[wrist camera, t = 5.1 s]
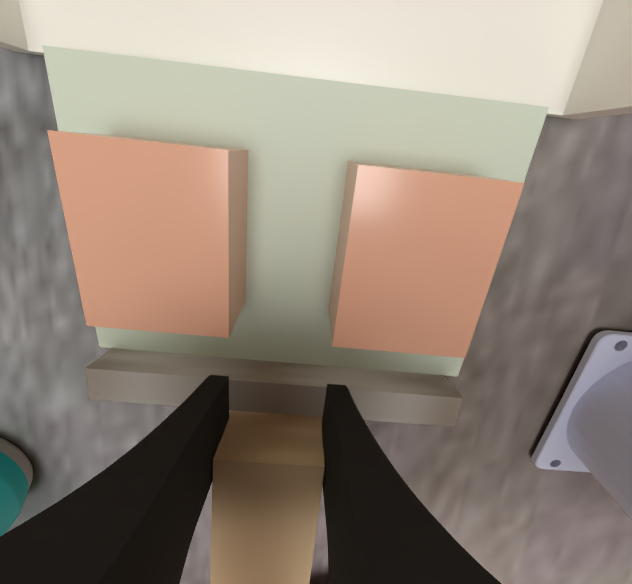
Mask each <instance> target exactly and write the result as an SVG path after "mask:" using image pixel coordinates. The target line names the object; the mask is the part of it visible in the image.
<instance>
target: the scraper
mask: <svg viewBox="0 0 632 584" xmlns="http://www.w3.org/2000/svg"><path fill="white" fill-rule="evenodd" d="M209 375H220V376H229V410H231V413H230V415H229V420H228V422H227V425H226V428H225V430H224V433H223V436H222V438H221V440H220V442H219V445H218V448H217V450H216V453H215V456H214V458H213V481H212V526H211V571H210V584H309V583H310V575H311V568H312V560H313V552H314V545H315V537H316V530H317V522H318V514H319V507H320V499H321V491H322V484H323V476H324V469H325V464H324V450H323V442H322V417H323V411H324V403H325V396H326V389H327V384H338V385H346V386H347V387H348V389H349V391H350V394H351V396H352V398H353V400H354V402H355V404H356V406H357V408H358V410H359V412H360V414H361V416H362V418H363V419H364V420H368V421H381V422H395V423H408V424H421V425H435V426H448V427H456V425H457V421H458V417H459V413H460V409H461V405H462V401H463V397H462V396H461V395H460V394H459V392H458V391H457V390H456V388H455V387H454V386H453V385H452V383H451V382H450V381H449V379H448V378H447V377H446V376H444V375H432V374H420V373H408V372H396V371H383V370H371V369H359V368H347V367H335V366H323V365H311V364H298V363H286V362H274V361H262V360H250V359H238V358H226V357H213V356H201V355H189V354H177V353H165V352H153V351H141V350H128V349H116V348H112V349H111V350H110V351H108V352H107V353H106V354H104V355H103V356H101V357H100V358H99V359H97V360H96V361H95V362H93V363H92V364H91V365H89V366H88V367H87V368H86V376H87V387H88V398H89V400H102V401H116V402H129V403H142V404H155V405H169V406H180V405H181V404H182V403H183V402H184V401H185V400H186V399H187V398H188V397H189V396H190V395H191V394H192V393H193V392H194V390H195V389H196V388H197V387H198V386H199V385H200V384H201V383H202V382H203V381H204V380H205V379H206V378H207V377H208V376H209Z"/></svg>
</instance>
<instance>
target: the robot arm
mask: <svg viewBox="0 0 632 584" xmlns="http://www.w3.org/2000/svg"><path fill="white" fill-rule="evenodd" d="M616 343H617V344H616ZM228 420H229V376H220V375H209V376H208V377H207V378H206V379H205V380H204V381H203V382H202V383H201V384H200V385H199V386H198V387H197V388H196V389H195V390H194V392H193V393H192V394H191V395H190V396H189V397H188V398H187V399H186V400H185V401H184V402H183V403H182V404H181V405H180V406H179V407H178V408H177V409H176V410H175V411H174V412H172V413H171V414H170V415H169V416H168V417H167V418H166V419H165V420H164V421H163V422H162V423H161V424H160V425H159V426H158V427H156V428H155V429H154V430H153V431H152V432H151V433H150V434H148V435H147V436H146V437H145V438H144V439H143V440H142V441H140V442H139V443H138V444H137V445H136V446H134V447H133V448H132V449H131V450H130V451H128V452H127V453H126V454H125V455H123V456H122V457H121V458H119V459H118V460H117V461H116V462H114V463H113V464H112V465H110V466H109V467H108V468H106V469H105V470H104V471H102V472H101V473H99V474H98V475H97V476H95V477H94V478H92V479H91V480H89V481H88V482H87V483H85V484H84V485H82V486H81V487H79V488H78V489H76V490H75V491H73V492H72V493H71V494H69V495H68V496H66V497H65V498H63V499H62V500H60V501H59V502H57V503H55V504H54V505H52V506H51V507H49V508H47V509H46V510H44V511H42V512H41V513H39V514H37V515H36V516H34V517H33V518H31V519H29V520H28V521H26V522H24V523H23V524H21V525H19V526H17V527H16V528H14V529H12V530H11V531H9V532H7V533H5V534H4V535H2V536H0V584H179V583H180V579H181V575H182V572H183V568H184V564H185V561H186V557H187V553H188V550H189V546H190V543H191V540H192V536H193V533H194V530H195V527H196V524H197V522H198V519H199V516H200V513H201V511H202V508H203V505H204V502H205V500H206V497H207V494H208V491H209V489H210V486H211V483H212V480H213V458H214V456H215V453H216V450H217V448H218V445H219V442H220V440H221V438H222V436H223V433H224V430H225V428H226V425H227V422H228ZM322 442H323V450H324V464H325V469H324V476H323V494H324V505H325V515H326V526H327V539H328V572H329V584H501V583H500V582H499V581H498V580H497V579H495V578H494V577H493V576H492V575H491V574H490V573H489V572H488V571H487V570H485V569H484V568H483V567H482V566H481V565H480V564H479V563H478V562H477V561H476V560H475V559H474V558H473V557H472V556H471V555H470V554H469V553H468V552H467V551H466V550H465V549H464V548H463V547H462V546H461V545H460V544H459V543H458V542H457V541H456V540H455V539H454V538H453V537H452V536H451V535H450V534H449V533H448V532H447V531H446V529H445V528H444V527H443V526H442V525H441V524H440V523H439V522H438V521H437V520H436V519H435V518H434V516H433V515H432V514H431V513H430V512H429V511H428V510H427V509H426V508H425V506H424V505H423V504H422V503H421V502H420V500H419V499H418V498H417V497H416V496H415V494H414V493H413V492H412V491H411V489H410V488H409V487H408V486H407V484H406V483H405V482H404V480H403V479H402V478H401V477H400V475H399V474H398V472H397V471H396V470H395V468H394V467H393V466H392V464H391V463H390V461H389V460H388V458H387V457H386V455H385V454H384V452H383V451H382V449H381V448H380V446H379V445H378V443H377V442H376V440H375V438H374V437H373V435H372V433H371V432H370V430H369V428H368V426H367V425H366V423H365V421H364V419H363V418H362V416H361V414H360V412H359V410H358V408H357V406H356V404H355V402H354V400H353V398H352V396H351V394H350V391H349V389H348V387H347V386H346V385H338V384H327V389H326V396H325V403H324V411H323V418H322ZM532 461H533V463H534V464H535V466H536V467H537V468H540V469H549V470H563V471H577V472H591V473H592V474H593V476H594V477H595V478H596V479H597V480H598V481H599V483H600V484H601V485H602V486H603V487H604V489H605V490H606V491H607V492H608V493H609V494H610V496H611V497H612V498H613V499H614V500H615V501H616V503H617V504H618V505H619V506H620V507H621V508H622V510H623V511H624V512H625V513H626V514H627V516H628V517H629V518H630V519H631V520H632V332H621V331H610V330H606V331H601V332H599V333H597V334H596V335H594V337H593V338H592V340H591V342H590V344H589V346H588V348H587V350H586V351H585V353H584V355H583V357H582V359H581V361H580V363H579V365H578V367H577V369H576V371H575V373H574V375H573V377H572V379H571V381H570V383H569V385H568V387H567V389H566V391H565V393H564V395H563V397H562V399H561V401H560V402H559V404H558V406H557V408H556V410H555V412H554V414H553V416H552V418H551V420H550V422H549V424H548V426H547V428H546V430H545V432H544V434H543V436H542V438H541V440H540V442H539V444H538V446H537V448H536V450H535V452H534V453H533V455H532Z"/></svg>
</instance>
